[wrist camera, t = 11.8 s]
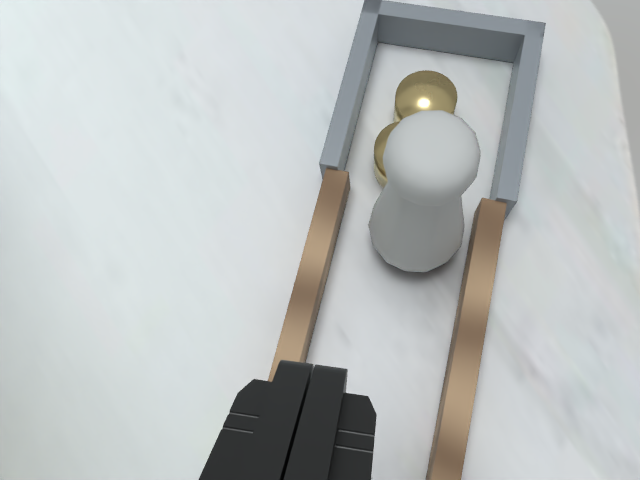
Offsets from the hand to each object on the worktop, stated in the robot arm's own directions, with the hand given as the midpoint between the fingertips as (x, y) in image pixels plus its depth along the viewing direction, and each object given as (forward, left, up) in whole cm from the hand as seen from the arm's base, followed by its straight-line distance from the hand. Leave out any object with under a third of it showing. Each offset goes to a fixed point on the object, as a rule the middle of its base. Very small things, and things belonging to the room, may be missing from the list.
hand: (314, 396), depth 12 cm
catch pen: (+16, +12, -22) cm, 30 cm away
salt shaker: (+10, +6, -22) cm, 25 cm away
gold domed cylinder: (+16, +13, -22) cm, 30 cm away
